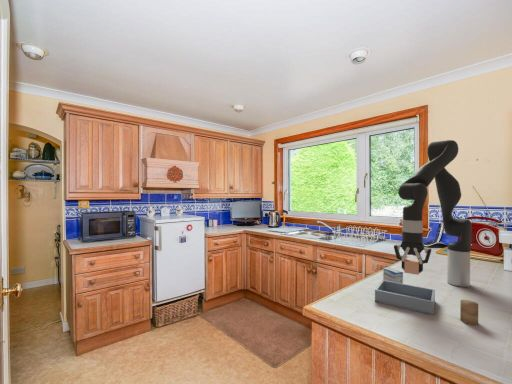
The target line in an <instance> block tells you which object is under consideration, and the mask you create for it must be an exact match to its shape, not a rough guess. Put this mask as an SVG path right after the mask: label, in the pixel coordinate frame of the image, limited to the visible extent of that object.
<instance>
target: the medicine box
mask: <svg viewBox="0 0 512 384" xmlns="http://www.w3.org/2000/svg"><path fill="white" fill-rule="evenodd" d="M382 273H383V275H382V276H383V277H382V278H383V279H382V280H386V281H391V282H396V283H402V284H404V272H403V271H400V270H397V269H395V268H391V267H384V268H383V271H382Z"/></svg>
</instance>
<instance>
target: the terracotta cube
mask: <svg viewBox="0 0 512 384" xmlns="http://www.w3.org/2000/svg"><path fill="white" fill-rule="evenodd" d="M403 271H404V272H403V274H404V273H405V274H410V275H417V276H418V275H419V274H420V273H419V261H418V259H413V258H407V257H406V259H405V265H404V270H403Z"/></svg>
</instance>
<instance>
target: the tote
mask: <svg viewBox="0 0 512 384" xmlns="http://www.w3.org/2000/svg"><path fill="white" fill-rule="evenodd" d="M374 302H375V303H378V304H379V303H380V304H384V305H389V306H393V307H398V308H401V309H405V310H410V311H414V312H418V313H422V314H426V315H431V316H434V313H433V312H434V311H435V304H436V303H435V302H436V290H435V289H433V288H428V287H422V286H417V285H412V284H406V283H403V284H402V283H396V282H391V281H386V280H383V279H381V281H380V283H378V285H377V286H376V288H375V289H374Z"/></svg>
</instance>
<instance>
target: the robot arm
mask: <svg viewBox="0 0 512 384" xmlns="http://www.w3.org/2000/svg"><path fill="white" fill-rule="evenodd" d="M426 151H427V157H428V162H426V163H424V164H423V165H422V166H420V167H419V168H418V170H417V171H416V172H415V173H414V175H413V176H411V177H410V178H408V179H407V180H405V181H404V182H403V183H401V184H400V186H399V187H398V191H397V193H398V196H399V198H400V199H402V200H406V201H413V202H412V204H410V205H405V206H403V208H402V224H401V243H400V244H394V245H393V249H394V253H395V256H396V260H399V261H401V269H402V270H403V271H404V265H405V259H406V258H407V256H415V257H416V260H418V261H419V274H421V273H423V271H424V264H428V262H429V260H430V256H431V253H432V251H433V250H432V248H428V247H425V245H424V242H423V241H424V233H423V232H424V225H423V211H424V206H425V203H426V200H427V196H428V193H429V192H428V188H427V187H429V185H430V184H431V183H432V181H433V180H434V181H435V185H436V192H437V196H438V199H439V204H440V208H441V209H440V210H441V215H442V225H443V230H444V233H445V234H446V235H447V236H450V237H455V238H457V237H458V238H460V240H459V241H454V242H449V243H448V244H447V263H446V264H447V275H446V276H447V278H446V279H447V280H446V281H447V283H448V284H449V285H453V286H456V287H461V288H470V287H471V249H472V248H471V246H472V231H473V226H472V225H473V224H472V222H471V220H470V219H466V218H453V211H454V209H455V207H456V206H457V205H458V203H459V202H460V200H461V198H462V190H461V185H460V183H459V181H458V180H457V179H456V178H455V177H454V176H453V175H452V174H451V173H450V171H448V169H446V167H447V166H448V165H449V164H450V163H451V162H453V161H454V160H455V159H456V157H457V156H458V154H459V145H458V142H457V141H455V140H453V139H452V140H451V139H448V140H440V141H432V142H430V143H429V144H428V145H427V148H426ZM400 249H402V250H403V252H404V253H403V255H402V256H401V254H400ZM423 250H424V253H425V259H423V257H422V254H421V253H422V251H423Z"/></svg>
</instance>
